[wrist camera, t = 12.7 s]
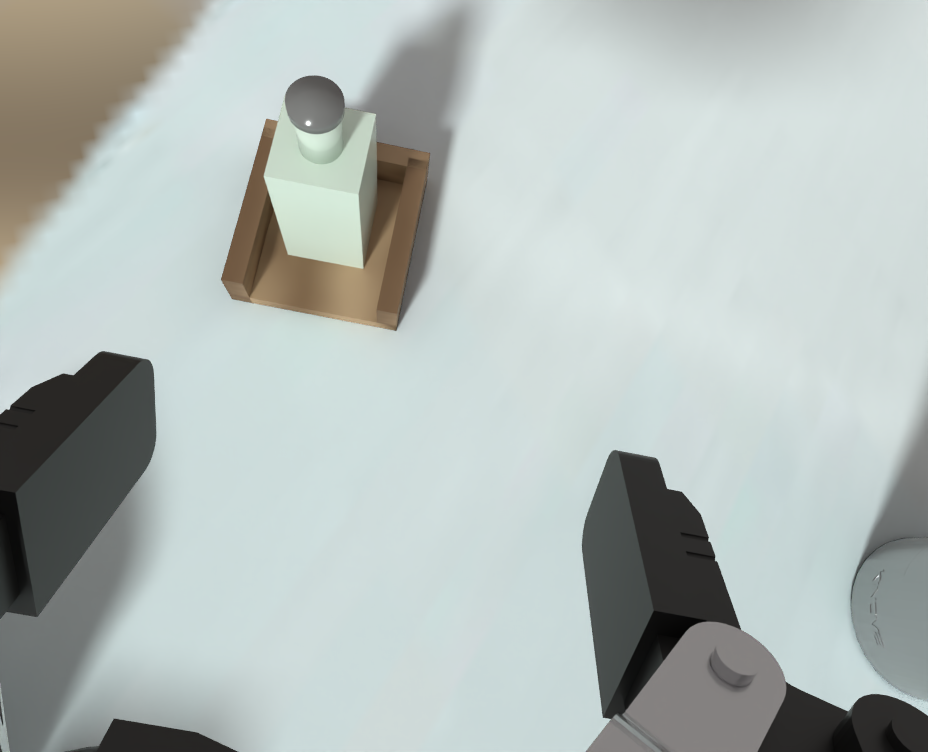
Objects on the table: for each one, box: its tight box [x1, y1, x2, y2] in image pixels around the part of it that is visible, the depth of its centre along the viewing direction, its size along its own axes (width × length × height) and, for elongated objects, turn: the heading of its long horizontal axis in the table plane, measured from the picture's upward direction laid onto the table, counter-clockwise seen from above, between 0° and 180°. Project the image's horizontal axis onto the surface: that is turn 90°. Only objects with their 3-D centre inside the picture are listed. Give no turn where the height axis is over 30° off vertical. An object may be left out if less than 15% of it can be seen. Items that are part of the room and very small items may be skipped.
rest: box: [221, 119, 430, 331], centre depth 42 cm, size 10×11×3 cm
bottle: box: [264, 76, 377, 269], centre depth 37 cm, size 5×5×12 cm
